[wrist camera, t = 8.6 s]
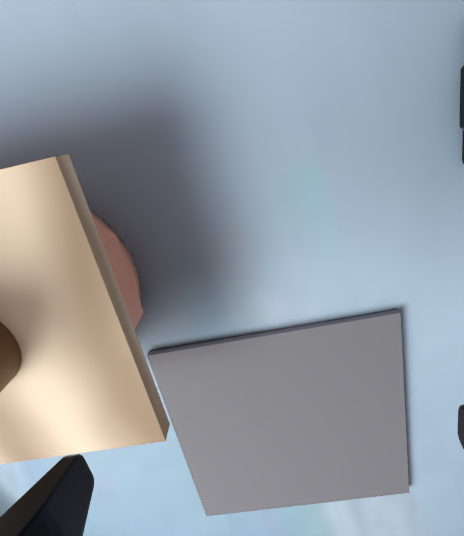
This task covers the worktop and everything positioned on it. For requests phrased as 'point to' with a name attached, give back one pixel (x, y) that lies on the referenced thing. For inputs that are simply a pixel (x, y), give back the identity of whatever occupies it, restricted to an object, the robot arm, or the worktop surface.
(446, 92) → the worktop surface
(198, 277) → the worktop surface
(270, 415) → the mat
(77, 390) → the lid
